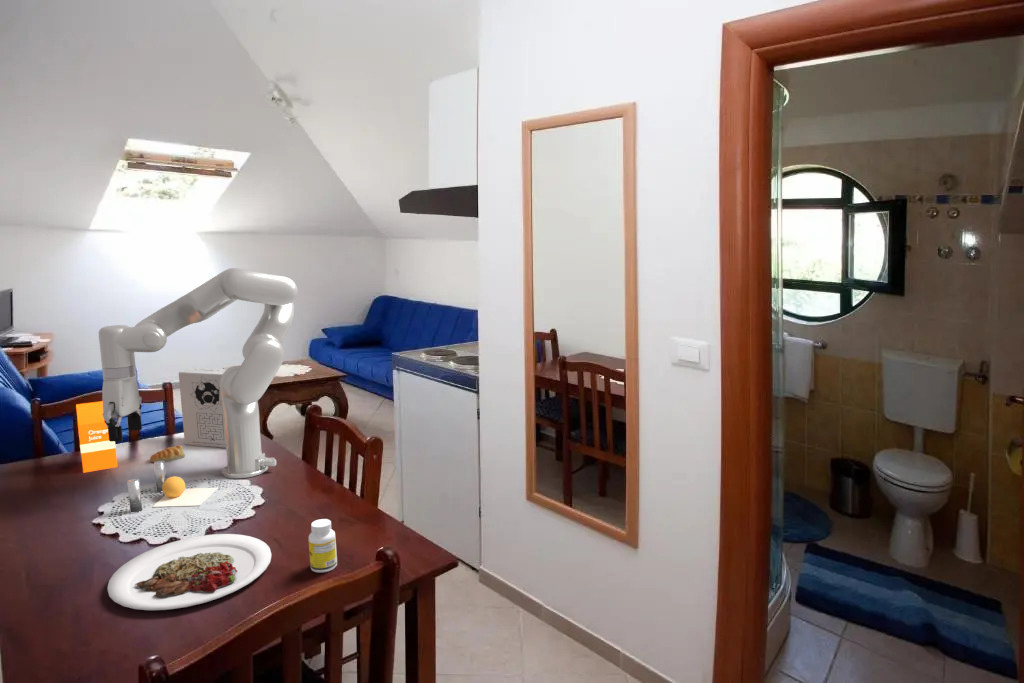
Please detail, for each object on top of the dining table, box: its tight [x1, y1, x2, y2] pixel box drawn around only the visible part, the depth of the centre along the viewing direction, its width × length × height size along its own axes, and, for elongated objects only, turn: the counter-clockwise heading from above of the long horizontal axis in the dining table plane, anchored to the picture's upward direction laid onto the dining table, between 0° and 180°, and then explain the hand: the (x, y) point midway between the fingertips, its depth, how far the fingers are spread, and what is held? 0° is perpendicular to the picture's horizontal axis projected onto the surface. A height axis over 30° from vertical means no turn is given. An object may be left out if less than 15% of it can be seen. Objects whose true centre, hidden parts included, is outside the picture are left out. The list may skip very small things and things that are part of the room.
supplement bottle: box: [308, 518, 338, 574], centre depth 134 cm, size 5×5×10 cm
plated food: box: [107, 533, 272, 611], centre depth 132 cm, size 30×30×3 cm
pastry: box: [149, 445, 186, 463], centre depth 202 cm, size 9×7×4 cm
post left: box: [126, 478, 143, 513], centre depth 162 cm, size 3×3×8 cm
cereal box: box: [178, 367, 228, 449], centre depth 215 cm, size 22×8×25 cm, turn 77°
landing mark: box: [151, 487, 219, 508], centre depth 171 cm, size 12×12×1 cm
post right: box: [153, 461, 167, 493], centre depth 176 cm, size 3×3×8 cm
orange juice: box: [75, 400, 118, 474], centre depth 194 cm, size 8×9×20 cm
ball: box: [162, 475, 186, 498], centre depth 171 cm, size 6×6×6 cm
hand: (126, 435), depth 172 cm, fingers open, 9 cm apart
